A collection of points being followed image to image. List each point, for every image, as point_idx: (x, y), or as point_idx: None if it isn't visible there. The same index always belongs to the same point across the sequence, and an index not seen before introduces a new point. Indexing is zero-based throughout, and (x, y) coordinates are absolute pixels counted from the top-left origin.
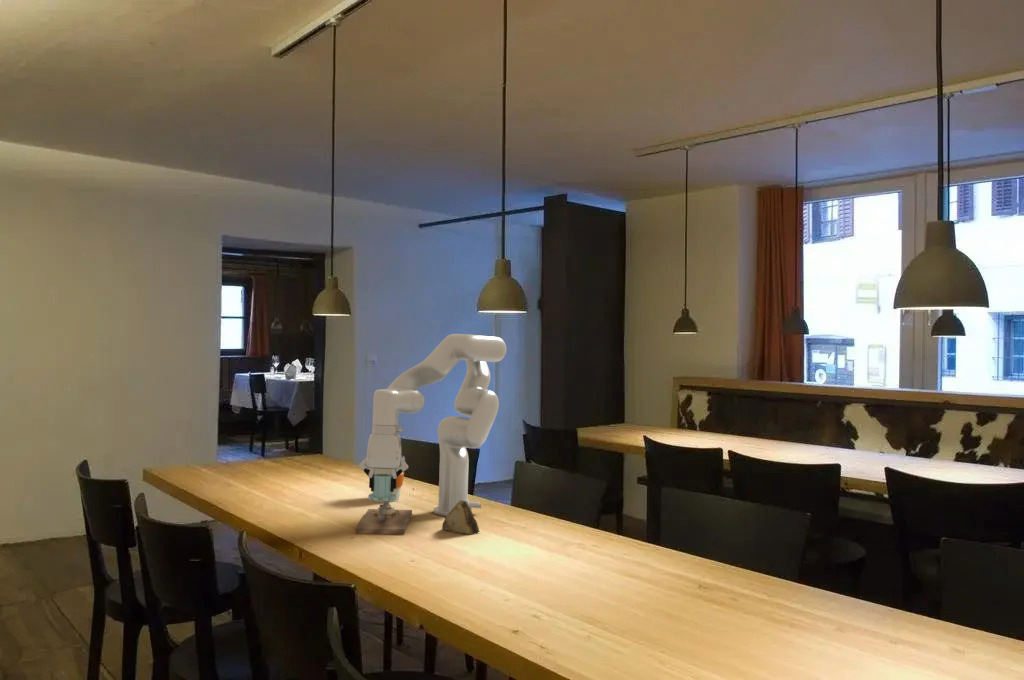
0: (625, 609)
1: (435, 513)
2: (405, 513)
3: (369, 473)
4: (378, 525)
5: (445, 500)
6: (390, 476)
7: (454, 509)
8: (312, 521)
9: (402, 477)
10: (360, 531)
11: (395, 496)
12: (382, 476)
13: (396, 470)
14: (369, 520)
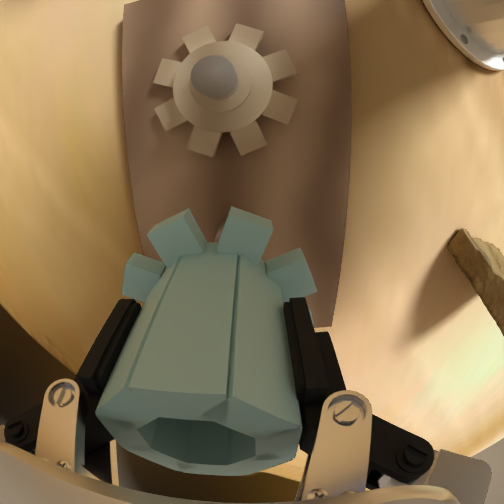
0: (463, 445)
1: (429, 12)
2: (324, 54)
3: (86, 455)
4: None
5: (496, 28)
6: (285, 459)
7: (499, 327)
8: (3, 188)
9: None
10: None
11: (312, 321)
12: (213, 472)
13: (365, 465)
14: (171, 215)
